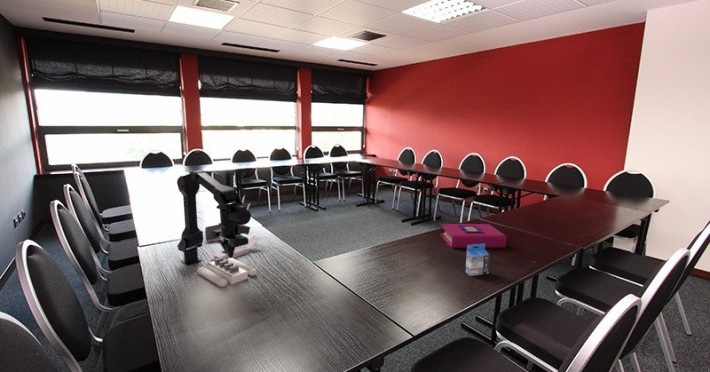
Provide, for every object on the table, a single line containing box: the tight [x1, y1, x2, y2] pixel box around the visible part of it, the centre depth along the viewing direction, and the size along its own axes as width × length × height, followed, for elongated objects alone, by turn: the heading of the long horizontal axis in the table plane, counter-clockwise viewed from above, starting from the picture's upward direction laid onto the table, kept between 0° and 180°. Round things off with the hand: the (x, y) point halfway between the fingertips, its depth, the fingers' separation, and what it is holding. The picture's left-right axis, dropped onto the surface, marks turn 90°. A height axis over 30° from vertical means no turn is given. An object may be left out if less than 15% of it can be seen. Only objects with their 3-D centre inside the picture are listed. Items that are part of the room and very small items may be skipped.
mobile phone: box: [209, 235, 262, 262], centre depth 160 cm, size 6×6×25 cm
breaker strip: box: [206, 257, 249, 285], centre depth 138 cm, size 20×7×5 cm, turn 49°
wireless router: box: [205, 195, 251, 242], centre depth 188 cm, size 34×23×20 cm
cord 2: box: [228, 258, 257, 277], centre depth 143 cm, size 20×3×3 cm, turn 49°
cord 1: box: [197, 266, 228, 288], centre depth 133 cm, size 20×3×3 cm, turn 49°
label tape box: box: [465, 244, 491, 277], centre depth 140 cm, size 9×4×12 cm, turn 105°
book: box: [440, 223, 507, 249], centre depth 180 cm, size 21×28×8 cm
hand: (230, 257), depth 135 cm, fingers closed
